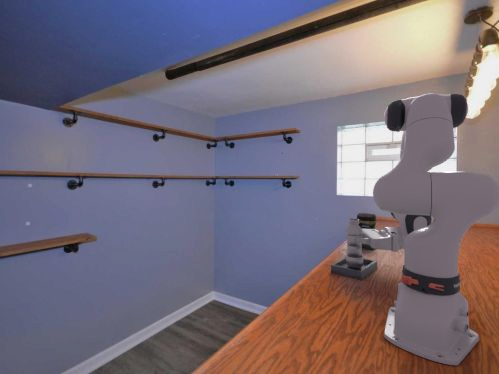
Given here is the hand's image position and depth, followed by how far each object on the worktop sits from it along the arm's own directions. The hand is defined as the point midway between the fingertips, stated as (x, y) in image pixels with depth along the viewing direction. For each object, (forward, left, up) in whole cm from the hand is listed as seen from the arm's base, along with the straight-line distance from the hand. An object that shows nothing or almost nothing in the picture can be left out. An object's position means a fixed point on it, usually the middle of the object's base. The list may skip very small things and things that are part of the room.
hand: (352, 237), depth 104 cm
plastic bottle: (0, -1, -13) cm, 13 cm away
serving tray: (0, -1, -13) cm, 14 cm away
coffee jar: (+37, +8, -14) cm, 40 cm away
